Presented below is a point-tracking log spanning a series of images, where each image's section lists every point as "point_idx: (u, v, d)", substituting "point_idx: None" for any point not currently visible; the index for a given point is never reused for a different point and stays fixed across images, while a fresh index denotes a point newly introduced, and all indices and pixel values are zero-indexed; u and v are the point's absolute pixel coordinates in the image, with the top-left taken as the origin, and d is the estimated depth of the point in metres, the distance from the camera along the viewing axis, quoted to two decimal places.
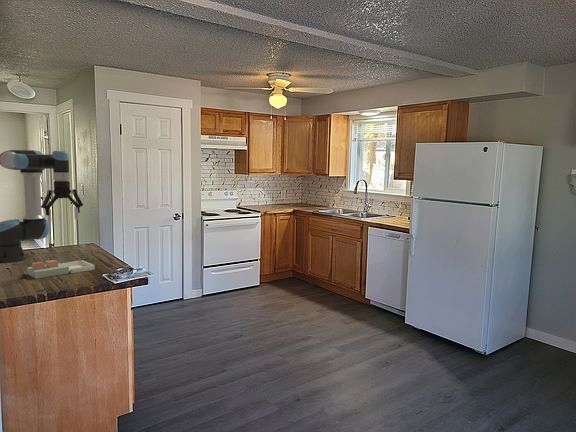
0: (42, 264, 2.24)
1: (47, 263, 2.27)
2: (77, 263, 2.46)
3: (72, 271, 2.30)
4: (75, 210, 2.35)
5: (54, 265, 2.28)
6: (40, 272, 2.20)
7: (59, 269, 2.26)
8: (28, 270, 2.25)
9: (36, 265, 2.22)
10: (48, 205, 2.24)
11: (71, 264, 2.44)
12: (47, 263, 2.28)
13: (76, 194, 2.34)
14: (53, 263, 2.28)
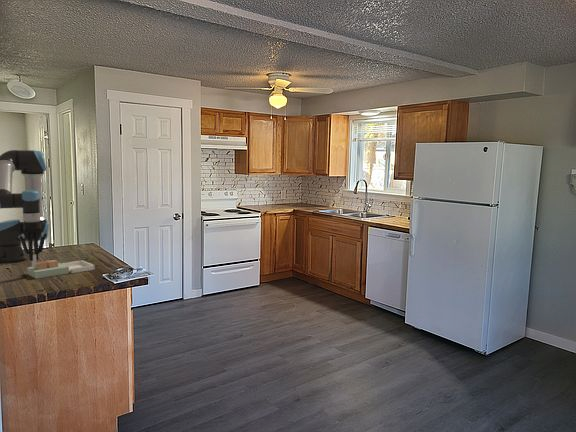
0: (44, 264, 2.25)
1: (47, 263, 2.27)
2: (77, 263, 2.46)
3: (72, 271, 2.30)
4: None
5: (54, 265, 2.28)
6: (40, 272, 2.20)
7: (59, 269, 2.26)
8: (28, 270, 2.25)
9: (38, 265, 2.22)
10: (29, 251, 2.20)
11: (71, 264, 2.44)
12: (47, 263, 2.28)
13: (43, 238, 2.24)
14: (53, 263, 2.28)
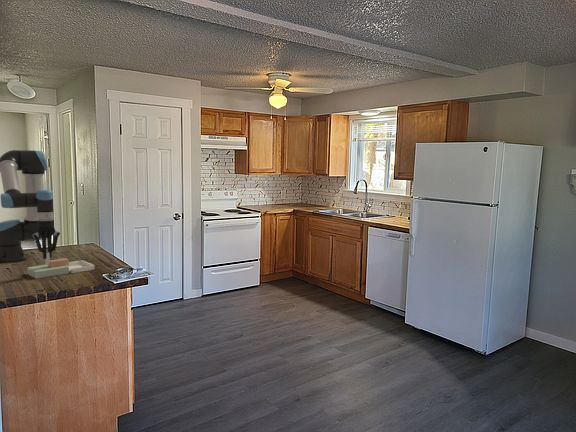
0: (57, 262, 2.29)
1: None
2: (77, 263, 2.46)
3: (72, 271, 2.30)
4: None
5: (65, 263, 2.32)
6: (40, 272, 2.20)
7: (59, 269, 2.26)
8: (28, 270, 2.25)
9: (52, 263, 2.27)
10: (43, 249, 2.25)
11: (71, 264, 2.44)
12: None
13: (57, 237, 2.29)
14: (64, 261, 2.32)
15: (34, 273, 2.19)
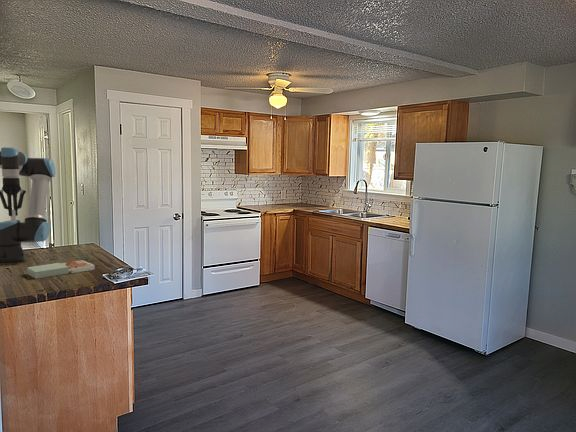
0: (72, 262, 2.35)
1: None
2: None
3: (72, 271, 2.30)
4: None
5: (80, 264, 2.38)
6: (40, 272, 2.20)
7: (59, 269, 2.26)
8: (28, 270, 2.25)
9: (69, 266, 2.34)
10: (9, 206, 2.26)
11: None
12: None
13: (23, 195, 2.30)
14: (81, 266, 2.38)
15: (34, 273, 2.19)
